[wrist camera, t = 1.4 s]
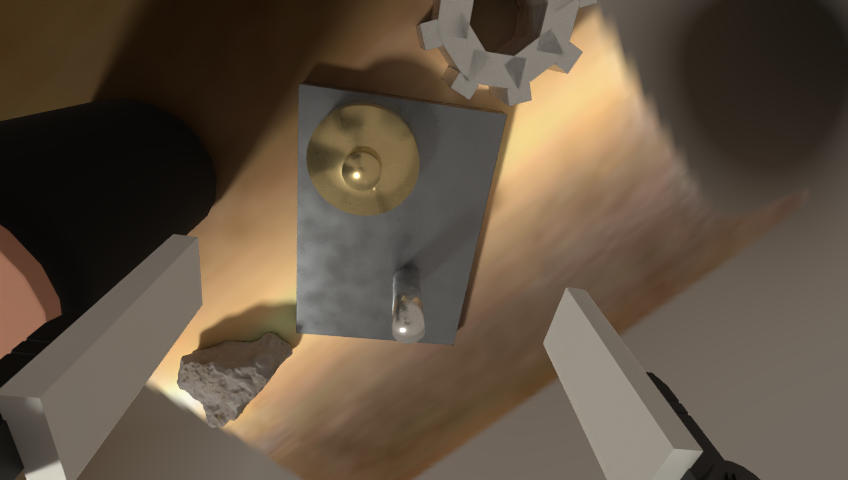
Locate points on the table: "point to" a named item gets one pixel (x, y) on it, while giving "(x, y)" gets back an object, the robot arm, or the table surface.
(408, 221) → the carrier
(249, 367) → the stone
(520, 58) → the planet gear
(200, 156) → the coffee jar
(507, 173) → the table surface
